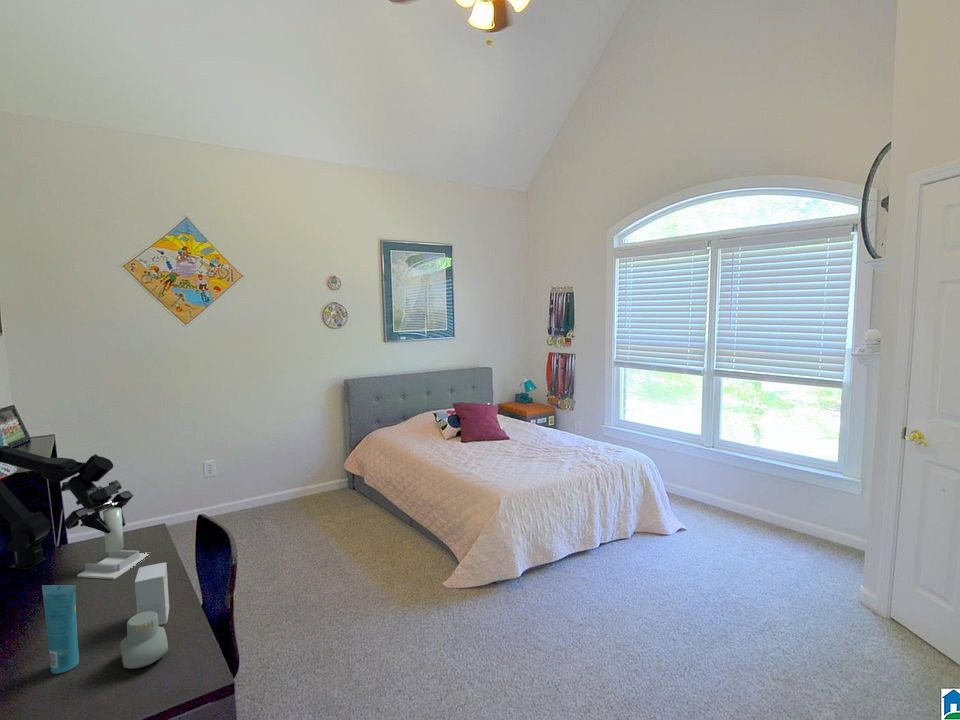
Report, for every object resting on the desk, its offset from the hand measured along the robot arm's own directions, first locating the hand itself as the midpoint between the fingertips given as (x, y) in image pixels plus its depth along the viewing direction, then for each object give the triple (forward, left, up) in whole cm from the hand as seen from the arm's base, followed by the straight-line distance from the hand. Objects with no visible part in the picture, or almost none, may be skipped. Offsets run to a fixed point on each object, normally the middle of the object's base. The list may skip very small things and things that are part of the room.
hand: (117, 529), depth 153 cm
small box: (+31, -24, -12) cm, 41 cm away
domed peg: (-1, 0, -7) cm, 7 cm away
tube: (+24, -42, -12) cm, 50 cm away
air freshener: (+40, -38, -12) cm, 56 cm away
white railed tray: (-1, 0, -12) cm, 12 cm away
